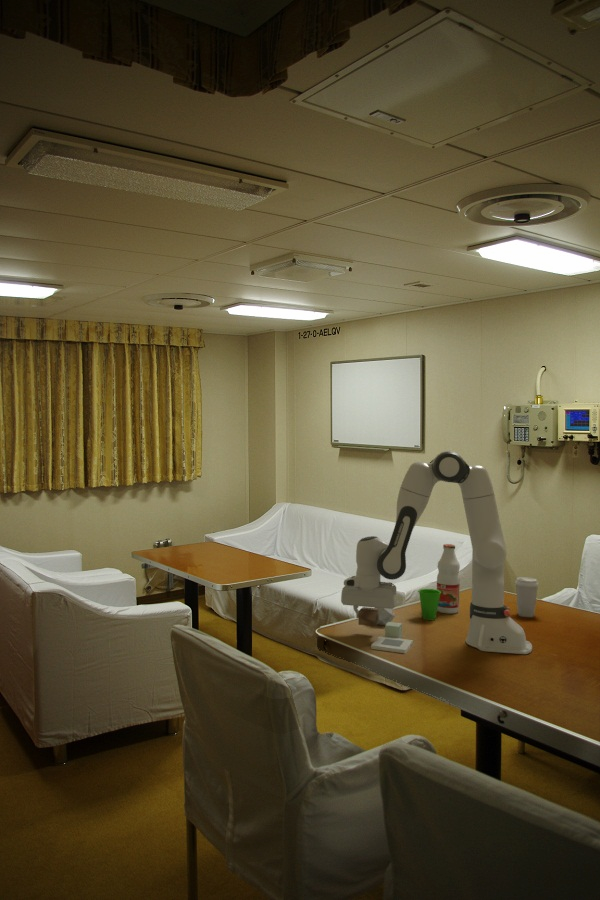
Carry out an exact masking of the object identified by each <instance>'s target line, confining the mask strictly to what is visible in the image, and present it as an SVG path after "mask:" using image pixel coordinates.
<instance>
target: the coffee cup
mask: <svg viewBox="0 0 600 900" xmlns="http://www.w3.org/2000/svg"><path fill="white" fill-rule="evenodd" d="M514 584H515V590H516V607H517V609H516V611H517V616H518V617H523V618H534V617H535V611H536V603H537V596H538V594H537V593H538V587H540V584H539V581H538V579H536V578H533V577H525V576H524V577H523V576H521V577H517V578H516V580H515V581H514Z"/></svg>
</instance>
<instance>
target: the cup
mask: <svg viewBox="0 0 600 900" xmlns="http://www.w3.org/2000/svg"><path fill="white" fill-rule="evenodd" d="M418 593H419V594H418V595H419V601H420V608H421V609H420V610H421V617H422V619H423V618H424V619H423V620H426V619H428V620H427V621H434V620H436V618H437V612H438V611H437V608H438V602H439V597H440V593H441V591H439V590H437V589H434V588H422V589H419V590H418Z"/></svg>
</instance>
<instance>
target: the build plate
mask: <svg viewBox="0 0 600 900" xmlns="http://www.w3.org/2000/svg"><path fill="white" fill-rule="evenodd" d="M413 644H414V640H413V639H406V638H392V637H385V635H384V636H382V635H379V636H378V637H377V639H375V640H374V642H373V643H371V645H370V649H371V650H378V651H383V652H384V651H385V652H392V653H398V654H407V652H408V651H409V650H410V649H411V647H412V646H413Z"/></svg>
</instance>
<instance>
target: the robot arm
mask: <svg viewBox="0 0 600 900" xmlns="http://www.w3.org/2000/svg"><path fill="white" fill-rule="evenodd" d="M438 482H445V483H454V484H458V486H459V488H460V492H461V497H462V501H463V507H464V511H465V512H464V513H465V518H466V523H467V527H468V531H469V537H470V543H471V548H472V551H471V553H472V554H471V555H472V558H471V559H472V562H471V563H472V564H471V565H472V567H471V602H470V603H469V619H470V620H469V627H468V632H467V636H466V638H465V643H466V644H467V645H469V646H470V647H473V648H476V649H478V650H479V651H481V652H492V653H505V654H515V655H516V654H517V655H528V654H530V653H532V650H533V645H532V643H531V642H530V641H528V640H527V639H526V638H527V637H526V633H525V631H524V628H523V627H522V626H521V625H520V624H518V622H516V621H515V620H514V619H513V618H511V617H510V615H511V608H510V607H509V606H506V605H505V604H504V603H505V601H504V600H505V560H506V558H507V549H506V548H507V547H506V544H505V539H504V535H503V530H502V529H503V528H502V525H501V519H500V516H499V511H498V506H497V500H496V496H495V491H494V490H495V489H494V487H493V483H492V480H491V477H490V475H489V472H488V469H486V468H485V467H484V466H482V465H479V464H478V465H477V464H473V465H469V464H468V463H467V462H466V461H465V459H464V458H463V457H462V456H461V455H460V454H459V453H457V452H455V451H454V450H444V451H441V452H440V453H438V454H437V455H436V456H435V458H433V459H432V460H430V462H428V463H427V462H424V461H416V462H413V463H411V465H410V466H409V467H408V469H407V472H406V473H405V475H404V478H403V480H402V482H401V485H400V488H399V491H398V495H397V501H396V518H395V524H394V528H393V531H392V533H391V534H392V535H391V537H390V540H389V543H387V542H385V541H383V540H381V538H379V537H378V536H374V535H373V536H366V537H362V538H361V539H359V541H358V542H357V544H356V550H355V551H356V554H355V561H356V570H355V571H356V572H355V573H356V574H355V575H352V576H349V577H347V578H346V579H344V581H343V587H342V590H341V595H340V596H341V597H340V601H341V604H342V605H343V606H351V607H352V608H353V611H354V612H355V614H356V615H355V617H356V619H359V618H358V611H359V609H358V608H359V607H368V608H379V611H380V613H379V614H377V615H376V620H381V614H382V612H383V611H384V608H387V609H395V607H397V595H396V594H397V586H396V585H395V583H393V582H385V581H381V577H383V578H384V579H387V580H398V579H400V578H401V577H402V576H403V575H404V574H405V572H406V569H407V562H406V561H407V558H406V551H407V549H408V546H409V542H410V540H411V537H412V532H413V530H414V528H415V526H416V524H417V523H418V522H419V519H420V518H421V516H422V515H423V513H424V511H425V509H426V508H427V505H428V503H429V501H430V498H431V495H432V492H433V490H434V486H435V485H436V484H437V483H438Z"/></svg>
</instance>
